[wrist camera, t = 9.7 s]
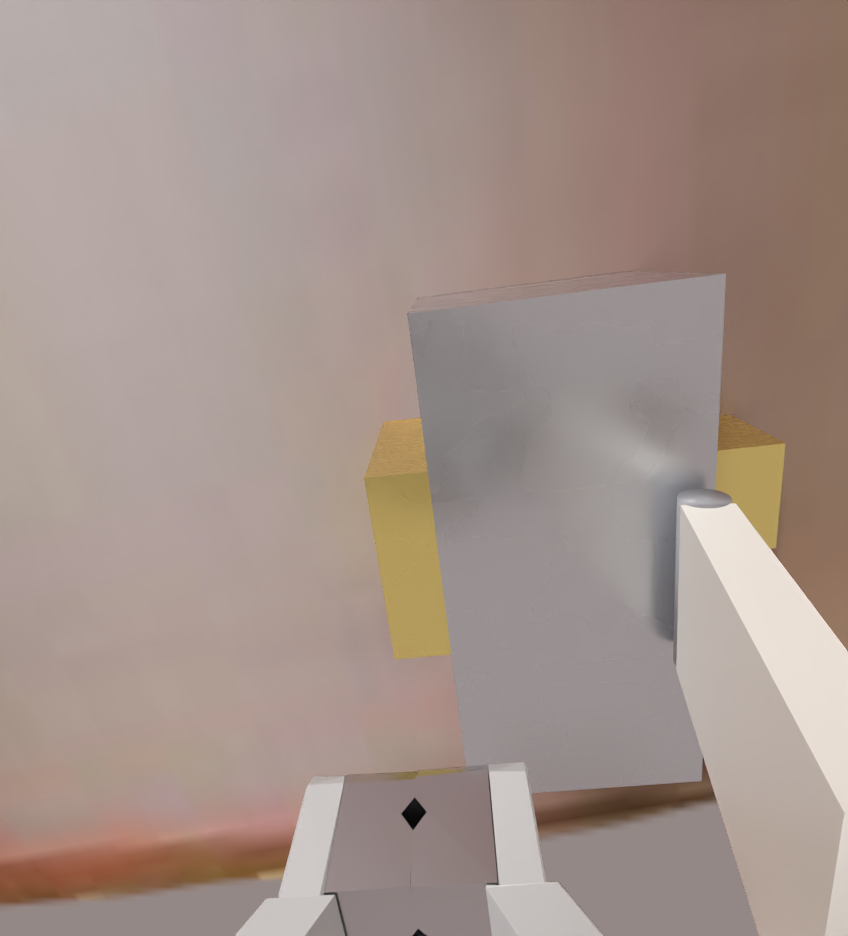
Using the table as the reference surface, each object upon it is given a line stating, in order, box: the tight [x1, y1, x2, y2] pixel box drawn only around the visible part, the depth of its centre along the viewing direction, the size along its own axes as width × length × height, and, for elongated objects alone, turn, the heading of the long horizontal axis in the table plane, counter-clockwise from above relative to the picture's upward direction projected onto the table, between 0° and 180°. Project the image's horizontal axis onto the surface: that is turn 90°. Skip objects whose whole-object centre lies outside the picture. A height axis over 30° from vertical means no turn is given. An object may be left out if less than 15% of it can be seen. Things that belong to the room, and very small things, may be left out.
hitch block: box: [407, 271, 726, 793], centre depth 16 cm, size 6×12×6 cm, turn 7°
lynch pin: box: [364, 415, 785, 659], centre depth 16 cm, size 10×5×5 cm, turn 97°
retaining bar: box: [673, 489, 848, 936], centre depth 9 cm, size 1×4×8 cm, turn 6°
